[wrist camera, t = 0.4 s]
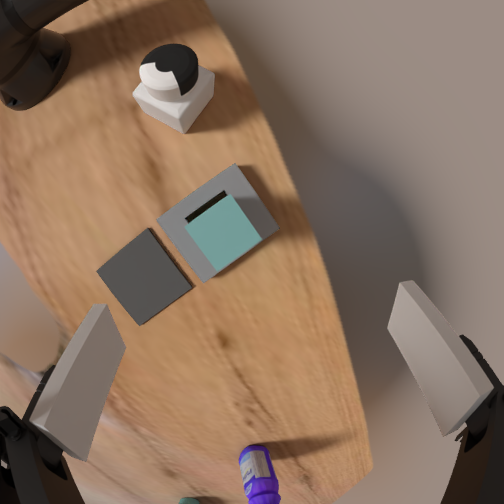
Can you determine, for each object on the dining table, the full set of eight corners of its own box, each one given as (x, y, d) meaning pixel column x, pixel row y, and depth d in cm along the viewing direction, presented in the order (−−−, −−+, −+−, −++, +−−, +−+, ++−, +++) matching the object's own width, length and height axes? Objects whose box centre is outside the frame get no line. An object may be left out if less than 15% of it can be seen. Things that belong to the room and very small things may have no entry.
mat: (97, 270, 34) (96, 271, 34) (148, 227, 35) (147, 228, 34) (140, 324, 36) (139, 326, 36) (192, 286, 37) (192, 287, 36)
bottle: (244, 441, 43) (259, 512, 26) (271, 443, 44) (293, 509, 27) (234, 461, 44) (246, 526, 27) (260, 462, 45) (277, 524, 28)
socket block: (159, 218, 35) (156, 219, 32) (233, 165, 35) (235, 162, 33) (203, 278, 37) (203, 283, 34) (275, 226, 37) (280, 228, 35)
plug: (194, 218, 35) (184, 227, 21) (221, 199, 35) (230, 193, 21) (213, 245, 36) (217, 271, 22) (240, 226, 36) (262, 239, 22)
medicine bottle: (173, 74, 31) (162, 28, 20) (214, 95, 33) (217, 52, 21) (143, 112, 32) (118, 76, 20) (184, 135, 33) (174, 103, 22)
